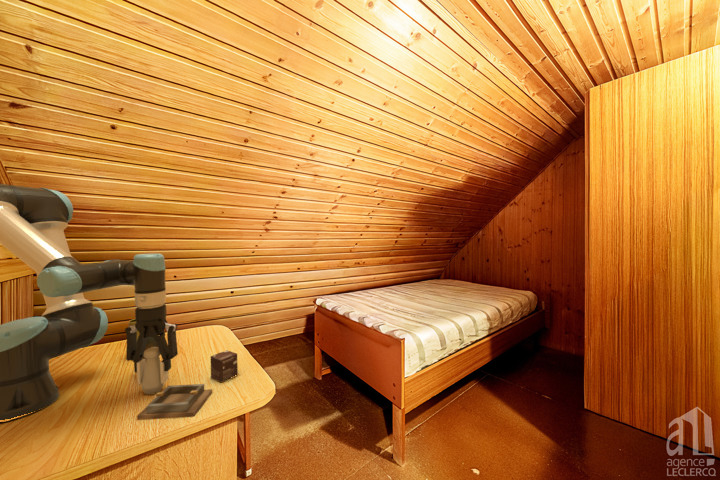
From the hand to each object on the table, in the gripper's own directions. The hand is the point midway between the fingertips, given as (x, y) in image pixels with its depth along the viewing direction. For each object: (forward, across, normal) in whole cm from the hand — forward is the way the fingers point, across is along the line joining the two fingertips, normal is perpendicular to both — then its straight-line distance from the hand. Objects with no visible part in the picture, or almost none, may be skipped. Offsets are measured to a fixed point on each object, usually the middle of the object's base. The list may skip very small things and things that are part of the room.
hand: (153, 381), depth 87 cm
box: (+3, +18, +7) cm, 20 cm away
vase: (+3, -21, +26) cm, 34 cm away
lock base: (+3, +11, -8) cm, 14 cm away
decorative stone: (+3, -8, +11) cm, 14 cm away
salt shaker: (+3, 0, 0) cm, 3 cm away
